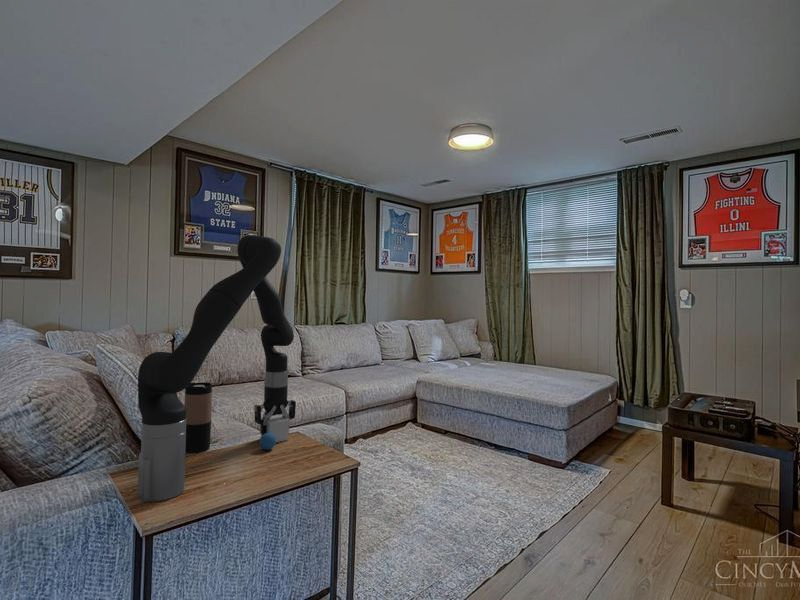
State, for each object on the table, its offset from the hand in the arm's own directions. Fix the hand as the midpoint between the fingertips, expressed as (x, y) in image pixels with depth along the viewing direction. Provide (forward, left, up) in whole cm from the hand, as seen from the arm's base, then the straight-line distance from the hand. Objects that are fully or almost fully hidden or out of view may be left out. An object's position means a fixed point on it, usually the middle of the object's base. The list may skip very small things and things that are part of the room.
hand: (274, 433), depth 141 cm
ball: (-6, -8, +1) cm, 10 cm away
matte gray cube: (0, 0, -2) cm, 2 cm away
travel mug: (-23, +5, -2) cm, 24 cm away
